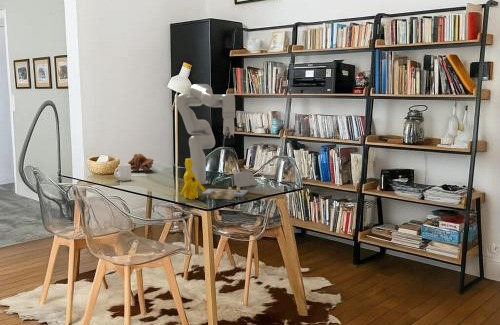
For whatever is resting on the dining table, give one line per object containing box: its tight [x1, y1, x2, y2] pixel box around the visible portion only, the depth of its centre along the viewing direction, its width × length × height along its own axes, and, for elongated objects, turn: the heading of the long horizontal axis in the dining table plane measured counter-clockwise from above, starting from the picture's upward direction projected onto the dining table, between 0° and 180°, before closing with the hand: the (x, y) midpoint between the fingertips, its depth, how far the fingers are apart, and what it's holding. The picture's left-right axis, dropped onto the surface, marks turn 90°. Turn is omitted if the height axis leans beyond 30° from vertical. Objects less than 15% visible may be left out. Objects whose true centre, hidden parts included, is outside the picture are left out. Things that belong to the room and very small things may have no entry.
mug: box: [113, 163, 132, 182], centre depth 350 cm, size 12×8×10 cm
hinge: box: [231, 170, 258, 188], centre depth 330 cm, size 17×5×10 cm, turn 129°
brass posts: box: [227, 186, 241, 192], centre depth 302 cm, size 7×2×2 cm, turn 77°
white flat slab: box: [201, 188, 249, 197], centre depth 303 cm, size 24×13×1 cm, turn 77°
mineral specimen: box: [127, 153, 155, 173], centre depth 390 cm, size 22×20×15 cm
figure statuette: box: [179, 158, 207, 200], centre depth 289 cm, size 18×8×22 cm, turn 133°
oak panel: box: [209, 189, 235, 200], centre depth 290 cm, size 12×6×4 cm, turn 77°
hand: (229, 144), depth 308 cm, fingers open, 9 cm apart
